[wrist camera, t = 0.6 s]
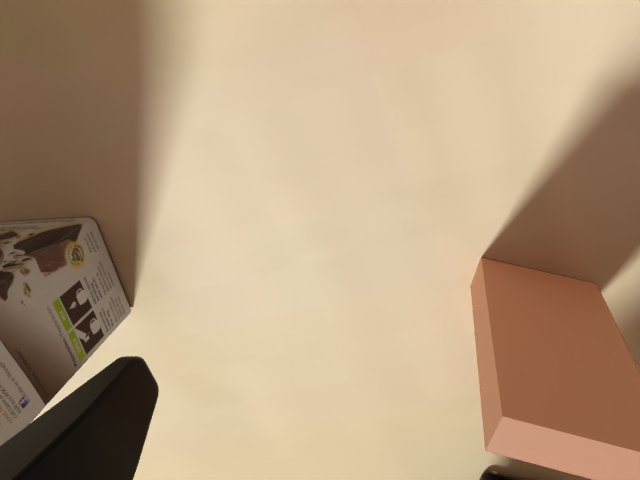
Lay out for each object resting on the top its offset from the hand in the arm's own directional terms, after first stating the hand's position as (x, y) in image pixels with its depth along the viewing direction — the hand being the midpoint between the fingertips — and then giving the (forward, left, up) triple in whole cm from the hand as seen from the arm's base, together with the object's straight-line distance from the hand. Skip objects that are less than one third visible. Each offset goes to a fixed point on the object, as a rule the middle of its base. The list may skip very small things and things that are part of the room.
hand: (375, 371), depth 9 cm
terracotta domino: (-6, -7, -14) cm, 16 cm away
